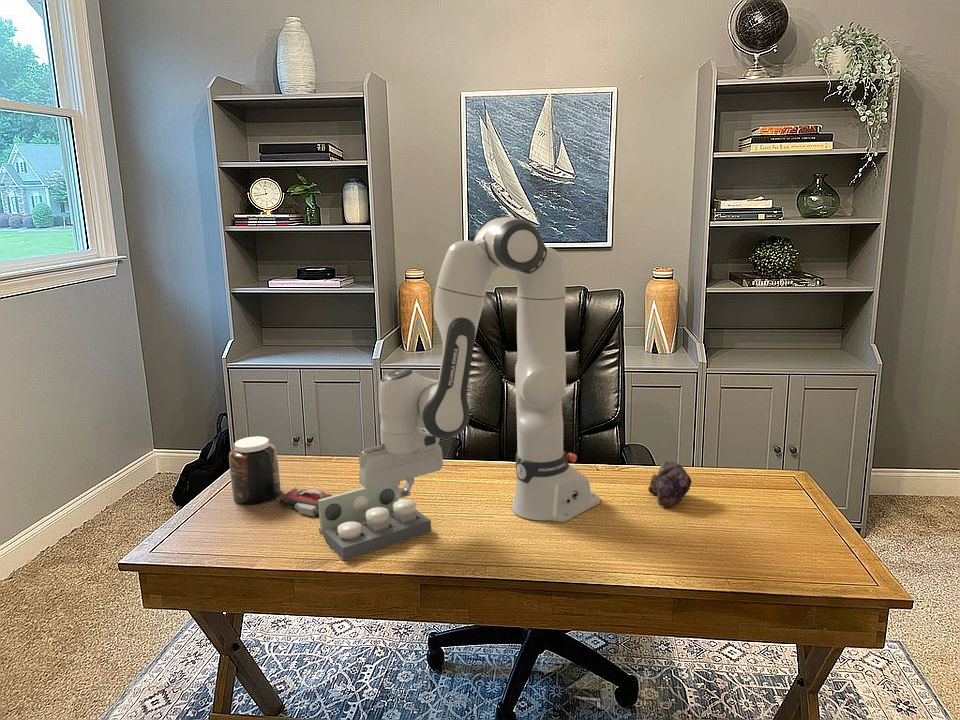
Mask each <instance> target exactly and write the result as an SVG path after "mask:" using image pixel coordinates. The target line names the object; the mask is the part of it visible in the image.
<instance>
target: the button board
mask: <svg viewBox="0 0 960 720" xmlns="http://www.w3.org/2000/svg"><path fill="white" fill-rule="evenodd" d="M431 521H432V520H431V519H430V518H428V517H427V516H425V515H424V514H423V513H421V512H420V511H418V510H417V509H416V519H415V520H412V521H409V522H406V523H402V524H400V523H399V522H397V521H396V520H395V519H394V511H393V510H392V511H389V528H386V529H383V530H380V531H377V532H374V533H373V532H372V531H371V530H369V529H368V528H367V522H366V519H362V520H359V521H356V522H358V523H360V524H361V530H362V534H361V537H358V538H355V539H351V540H348V541H345V542H344V541H343V540H342V539H341V538H339V537H338V527H336V528H332V529H329V530H326V531H324V533H325V537H324V539H325V540H324V542H326V543H327V544H328V545H329V546H330V547H331V548H332V549H333V550H334V551H335V552H336V553H337V554H338V555H339V556H340V557H341V558H342V559H343V560H344V561H346V560H347V561H348V560H350V559H352V558H353V557H354V558H356V556H357V557H359V555H360V556H362V555H365V553H366V554H368V552H369V553H372V552H374V550H375V551H377V549H378V550H381V549H384V548H387V547H389V546H393V545H396V544H399V543H403V542H406V541H408V540H411V538H412V539H414V538H417V537H419V536H420V537H421V536H424V535H426V534H430V533H432V522H431ZM326 543H325V544H326ZM327 544H326V545H327ZM328 545H327V546H328ZM329 546H328V547H329ZM330 547H329V548H330ZM331 548H330V549H331ZM380 548H381V549H380ZM332 549H331V550H332ZM333 550H332V551H333ZM334 551H333V552H334ZM371 551H372V552H371ZM335 552H334V553H335ZM336 553H335V554H336ZM337 554H336V555H337ZM338 555H337V556H338ZM339 556H338V557H339ZM340 557H339V558H340ZM341 558H340V559H341ZM354 558H353V559H354ZM342 559H341V560H342ZM343 560H342V561H343Z"/></svg>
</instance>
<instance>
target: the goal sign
mask: <svg viewBox="0 0 960 720" xmlns="http://www.w3.org/2000/svg"><path fill="white" fill-rule="evenodd" d="M396 501H399V499H398V498H397V497H396V490H395V489H394V488H393V486H392V485H391V484H388V485H385V486H381V487H377V488H373V489H369V490H368V489H366V488H365V487H363V486H362V487H359V488H355V489H352V490H348V491H345V492H342V493H338V494H335V495H333V496H330V497H327V498H323V499H319V500H318V506H319V515H318V516H319V527H318V532H319V534H321V535H322V534H323V535H324V536H325V533H324V531H326V530H329V529H332V528H336V527H338V526H339V525H340V524H342V523H345V522H356V521H359V520H362V519H366V511H367V510H369V509H371V508H376V507H383V508H386V509H388V510H389V511H392V510H393V504H394V503H395V502H396ZM323 535H322V536H323ZM324 536H323V537H324Z"/></svg>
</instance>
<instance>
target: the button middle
mask: <svg viewBox="0 0 960 720" xmlns="http://www.w3.org/2000/svg"><path fill="white" fill-rule="evenodd" d="M366 522H367V528H368V529H369V530H371V531H372V532H373V533H374V532H377V531H380V530H383V529H386V528H389V510H388V509H386V508H383V507H376V508H371V509H369V510H367V511H366Z"/></svg>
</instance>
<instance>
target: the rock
mask: <svg viewBox="0 0 960 720" xmlns="http://www.w3.org/2000/svg"><path fill="white" fill-rule="evenodd" d="M691 485H692V478H691V476H690V475H689V474H688V473H687V471H686V469H684V466H681V464H679V463H675V462H674V461H668V460H666V461H664V462H662V463H661V464H660V466H659V468H658V473H657V474H653V475H652V476H651V479H650V484H649V486H648V487H647V488H648V489H647V490H648V492H649V493H650V494H651V495H653V496H654V495H655V496H656V498H657V502H658V503H657V504H658V505H659V506H661V507H663V508H669V509H670V508H672V507H674V506H675V505H676V504H677V503H678V502H681V501H682V500H683V498H684V497H685V495H687V493H688V492H690V488H691Z"/></svg>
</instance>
